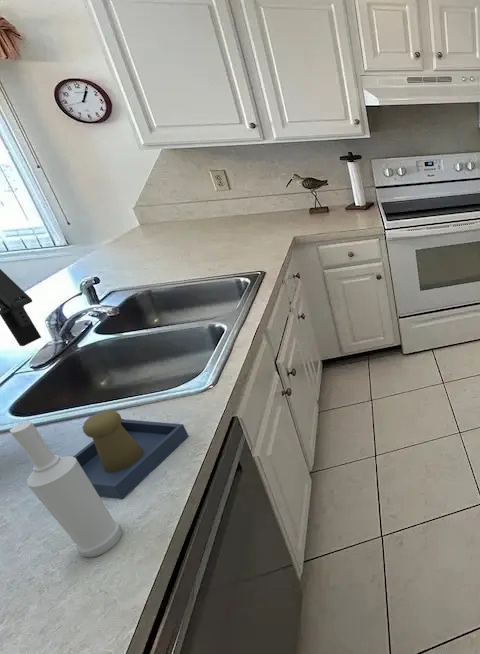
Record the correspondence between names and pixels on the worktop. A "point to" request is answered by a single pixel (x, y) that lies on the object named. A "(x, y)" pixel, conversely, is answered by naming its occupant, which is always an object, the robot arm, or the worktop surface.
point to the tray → (156, 448)
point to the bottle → (68, 494)
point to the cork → (112, 441)
